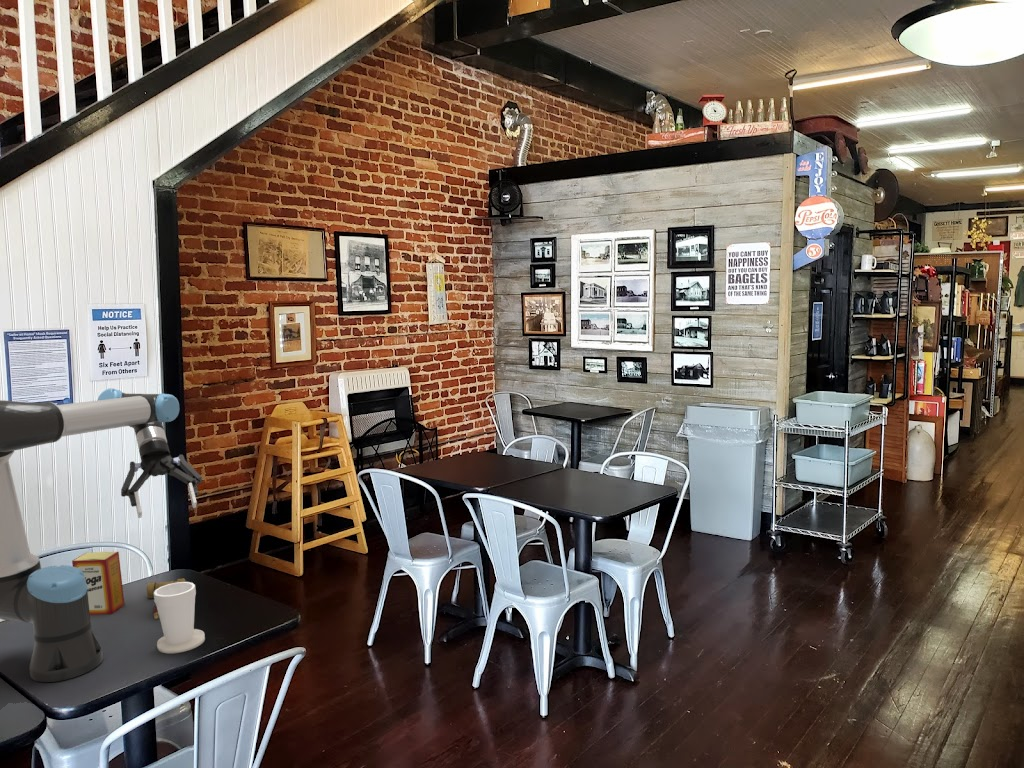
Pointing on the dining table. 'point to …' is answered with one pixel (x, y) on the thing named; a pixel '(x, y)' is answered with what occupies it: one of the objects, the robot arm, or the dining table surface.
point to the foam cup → (176, 611)
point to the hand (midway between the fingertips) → (168, 510)
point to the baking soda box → (102, 581)
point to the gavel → (153, 586)
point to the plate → (193, 643)
